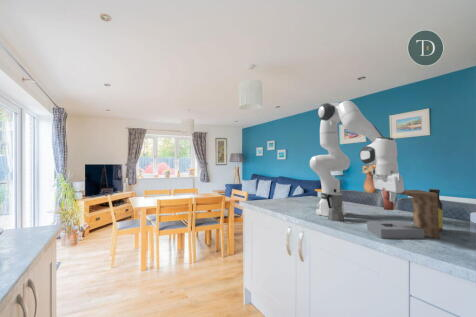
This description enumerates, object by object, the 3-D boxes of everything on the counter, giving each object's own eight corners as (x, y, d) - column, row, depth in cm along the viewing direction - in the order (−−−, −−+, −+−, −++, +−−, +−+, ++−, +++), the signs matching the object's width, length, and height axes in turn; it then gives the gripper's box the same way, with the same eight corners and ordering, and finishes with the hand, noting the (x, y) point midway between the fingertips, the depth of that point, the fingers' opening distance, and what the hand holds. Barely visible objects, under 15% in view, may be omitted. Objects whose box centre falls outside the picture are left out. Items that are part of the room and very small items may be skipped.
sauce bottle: (423, 229, 119) (421, 188, 120) (431, 227, 122) (429, 187, 122) (438, 232, 113) (436, 190, 114) (446, 230, 115) (444, 189, 116)
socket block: (367, 229, 121) (366, 221, 121) (405, 229, 119) (405, 221, 120) (381, 238, 107) (380, 229, 107) (424, 238, 106) (424, 229, 106)
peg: (390, 208, 115) (389, 187, 116) (395, 210, 111) (394, 188, 112) (382, 208, 116) (381, 187, 116) (386, 210, 112) (385, 188, 112)
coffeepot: (334, 216, 152) (333, 187, 153) (349, 218, 145) (348, 188, 145) (320, 220, 142) (319, 189, 143) (335, 223, 135) (334, 191, 136)
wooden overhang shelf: (396, 229, 120) (395, 190, 120) (418, 229, 119) (416, 189, 119) (414, 238, 106) (412, 193, 106) (439, 238, 105) (437, 193, 105)
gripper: (407, 171, 103) (409, 203, 103) (383, 170, 124) (384, 197, 123) (392, 171, 104) (393, 204, 103) (370, 170, 124) (371, 197, 124)
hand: (388, 200), depth 114 cm, fingers closed on peg, 4 cm apart
